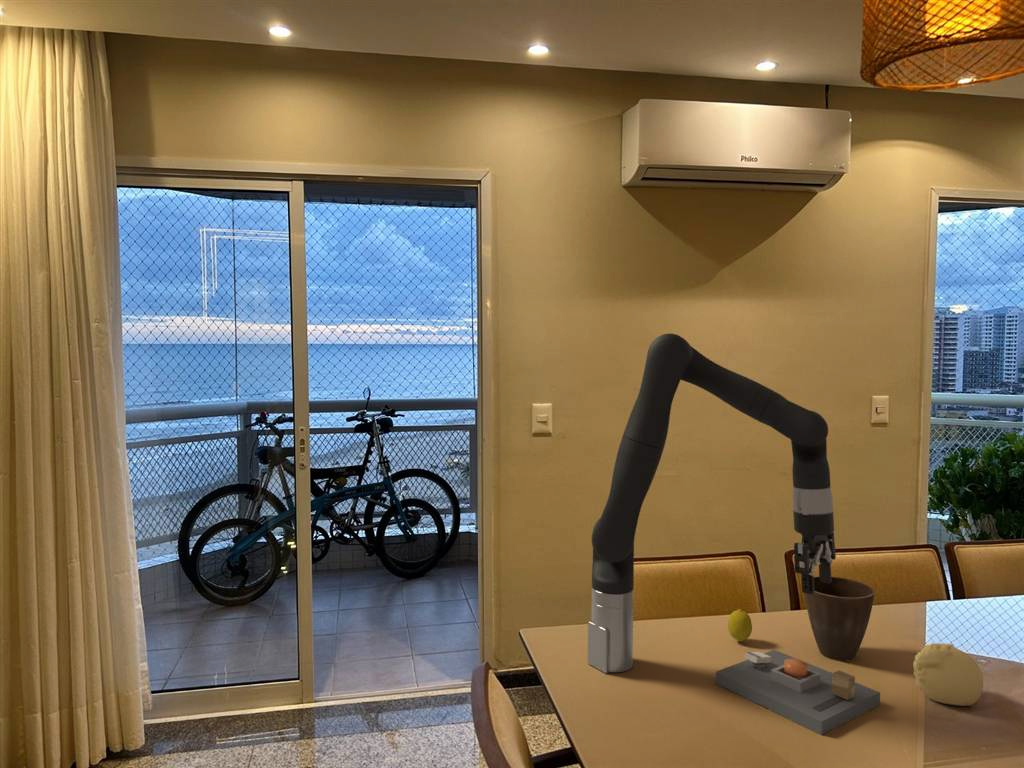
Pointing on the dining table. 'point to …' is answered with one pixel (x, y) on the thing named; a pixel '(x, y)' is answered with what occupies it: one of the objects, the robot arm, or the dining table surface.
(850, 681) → the slide paddle
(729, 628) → the lemon
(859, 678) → the dining table surface
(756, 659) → the rocker switch
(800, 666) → the push button
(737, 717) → the dining table surface
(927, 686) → the sculpture
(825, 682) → the control panel
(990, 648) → the dining table surface
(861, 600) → the plant pot
